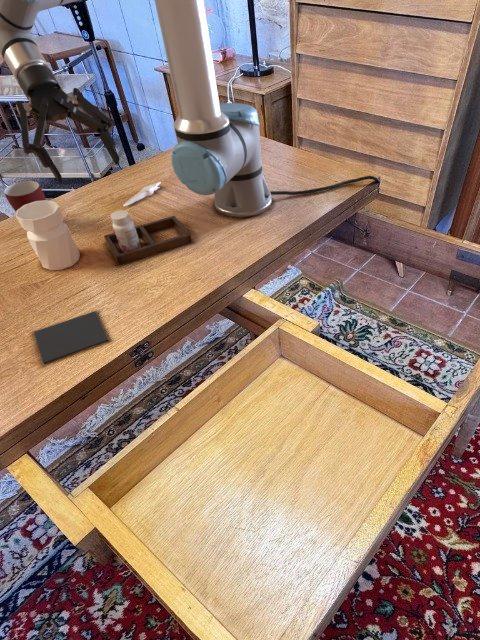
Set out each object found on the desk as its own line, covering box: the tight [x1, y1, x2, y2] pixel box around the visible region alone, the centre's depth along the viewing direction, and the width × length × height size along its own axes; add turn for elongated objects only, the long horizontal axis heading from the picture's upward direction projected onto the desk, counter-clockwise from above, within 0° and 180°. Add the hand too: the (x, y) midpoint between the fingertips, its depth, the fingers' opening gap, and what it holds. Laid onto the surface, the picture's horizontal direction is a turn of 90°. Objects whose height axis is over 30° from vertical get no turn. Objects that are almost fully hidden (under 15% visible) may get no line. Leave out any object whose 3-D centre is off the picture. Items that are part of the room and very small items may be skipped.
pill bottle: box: [110, 209, 142, 253], centre depth 103 cm, size 5×5×8 cm
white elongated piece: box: [122, 181, 161, 207], centre depth 122 cm, size 15×3×2 cm, turn 150°
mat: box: [33, 310, 110, 365], centre depth 86 cm, size 12×10×1 cm
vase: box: [15, 199, 81, 271], centre depth 99 cm, size 9×9×12 cm
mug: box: [3, 180, 47, 213], centre depth 109 cm, size 11×8×10 cm
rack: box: [103, 215, 193, 266], centre depth 107 cm, size 18×11×2 cm, turn 121°
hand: (89, 170), depth 99 cm, fingers open, 13 cm apart
